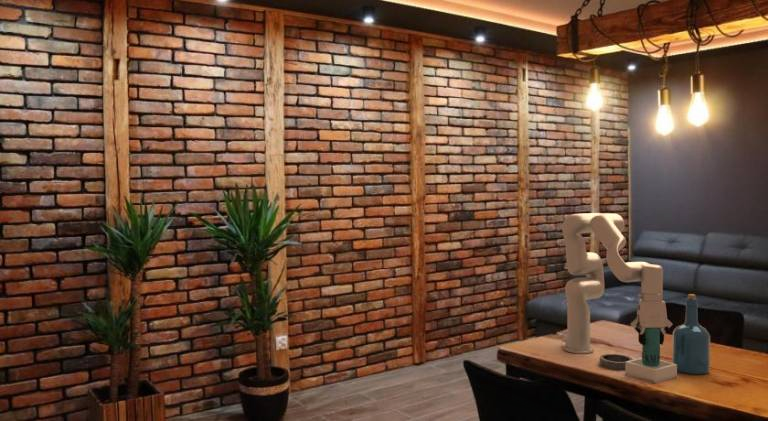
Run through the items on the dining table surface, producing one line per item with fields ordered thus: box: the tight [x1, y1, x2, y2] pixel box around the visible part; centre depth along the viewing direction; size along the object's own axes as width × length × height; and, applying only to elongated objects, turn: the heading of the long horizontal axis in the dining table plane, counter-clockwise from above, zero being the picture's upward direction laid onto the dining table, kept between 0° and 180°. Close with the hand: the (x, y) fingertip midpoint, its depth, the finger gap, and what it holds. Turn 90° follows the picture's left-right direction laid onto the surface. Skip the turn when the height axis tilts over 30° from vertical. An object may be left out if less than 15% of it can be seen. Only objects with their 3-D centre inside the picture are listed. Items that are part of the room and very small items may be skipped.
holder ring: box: [598, 353, 634, 371], centre depth 260 cm, size 12×12×3 cm
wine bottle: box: [671, 293, 711, 376], centre depth 252 cm, size 14×13×30 cm
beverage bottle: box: [641, 328, 661, 367], centre depth 246 cm, size 6×7×20 cm
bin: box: [624, 357, 678, 384], centre depth 246 cm, size 13×13×5 cm
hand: (651, 343), depth 246 cm, fingers closed on beverage bottle, 6 cm apart
